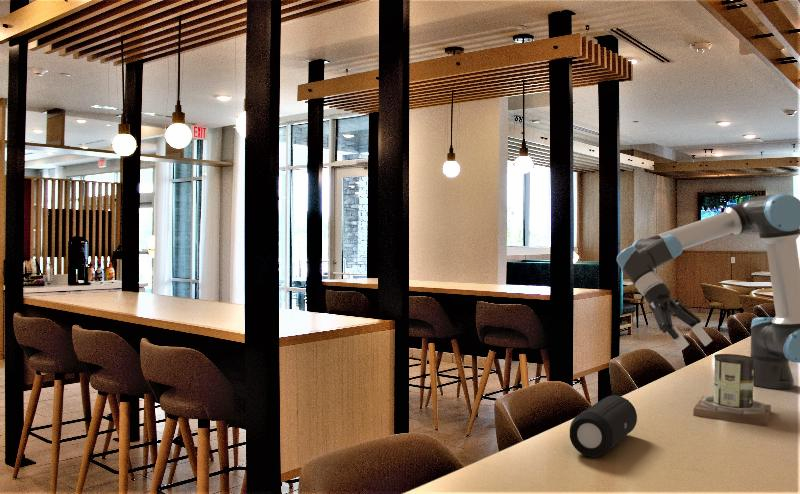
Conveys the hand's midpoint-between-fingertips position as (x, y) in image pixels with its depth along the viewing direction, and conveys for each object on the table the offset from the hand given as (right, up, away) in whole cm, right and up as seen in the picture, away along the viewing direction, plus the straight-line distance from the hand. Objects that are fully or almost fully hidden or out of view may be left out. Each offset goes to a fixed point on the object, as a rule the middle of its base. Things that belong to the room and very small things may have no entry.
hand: (697, 345), depth 204 cm
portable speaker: (-40, -18, -41) cm, 60 cm away
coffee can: (+6, -16, -9) cm, 19 cm away
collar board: (+6, -18, -9) cm, 21 cm away
